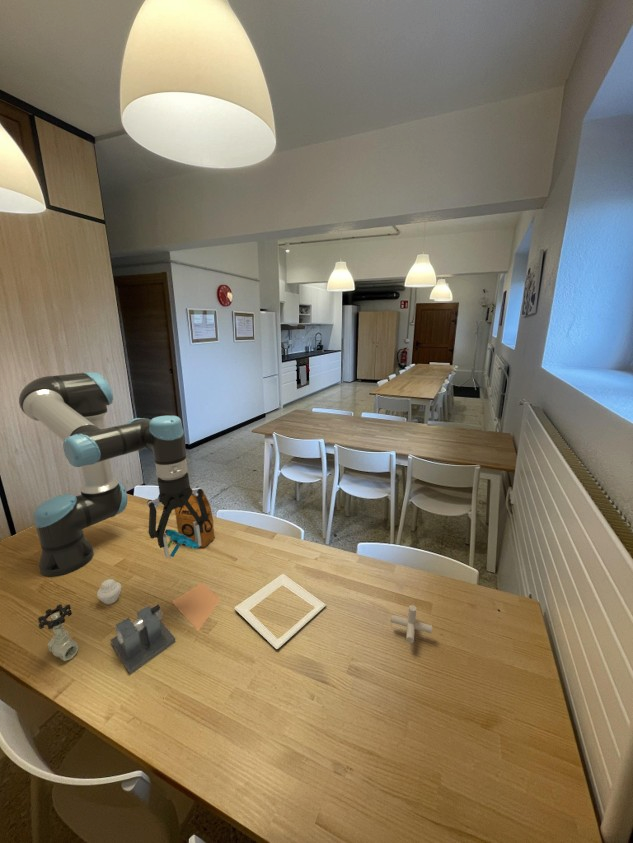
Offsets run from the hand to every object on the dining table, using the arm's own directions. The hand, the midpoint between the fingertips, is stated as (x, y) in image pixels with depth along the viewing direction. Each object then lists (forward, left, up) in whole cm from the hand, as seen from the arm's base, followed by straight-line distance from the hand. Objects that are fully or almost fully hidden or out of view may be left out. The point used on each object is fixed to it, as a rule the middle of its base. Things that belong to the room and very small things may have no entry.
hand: (183, 549), depth 92 cm
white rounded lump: (-18, -15, -18) cm, 30 cm away
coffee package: (-25, +17, -18) cm, 36 cm away
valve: (-8, -29, -18) cm, 35 cm away
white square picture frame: (+23, +15, -19) cm, 33 cm away
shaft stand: (+4, -15, -18) cm, 23 cm away
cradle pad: (+4, +1, -18) cm, 19 cm away
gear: (+1, +2, -1) cm, 3 cm away
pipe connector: (+55, +31, -18) cm, 65 cm away
